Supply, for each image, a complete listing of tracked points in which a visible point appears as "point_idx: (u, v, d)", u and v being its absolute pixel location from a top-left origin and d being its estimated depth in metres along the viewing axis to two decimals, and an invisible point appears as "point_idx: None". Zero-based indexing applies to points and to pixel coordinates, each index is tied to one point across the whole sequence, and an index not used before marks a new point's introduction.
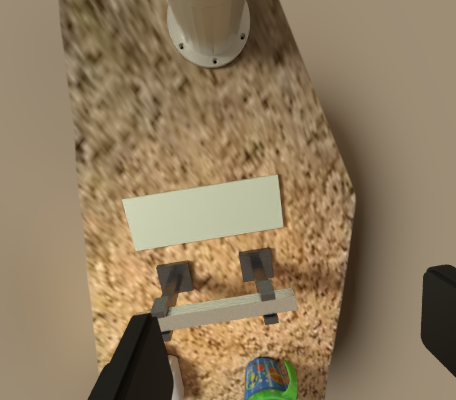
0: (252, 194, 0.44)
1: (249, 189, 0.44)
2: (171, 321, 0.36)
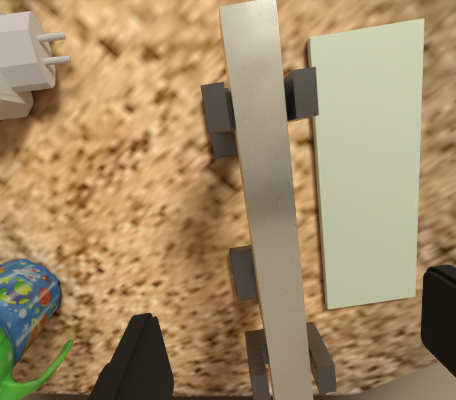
0: (391, 261, 0.27)
1: (399, 256, 0.27)
2: (268, 136, 0.12)
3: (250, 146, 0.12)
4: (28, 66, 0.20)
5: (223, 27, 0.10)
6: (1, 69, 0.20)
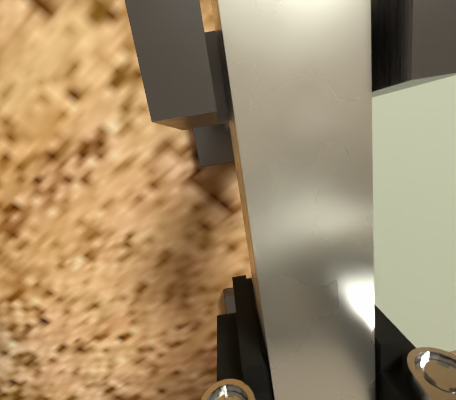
0: (441, 304, 0.20)
1: (452, 298, 0.20)
2: (320, 132, 0.04)
3: (270, 158, 0.04)
4: None
5: None
6: None
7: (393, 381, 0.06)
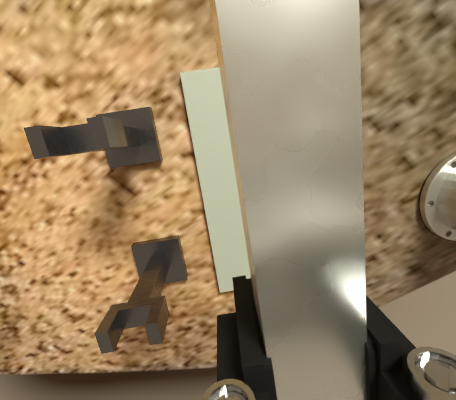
0: None
1: None
2: (311, 118, 0.05)
3: (264, 144, 0.05)
4: None
5: None
6: None
7: (393, 381, 0.06)
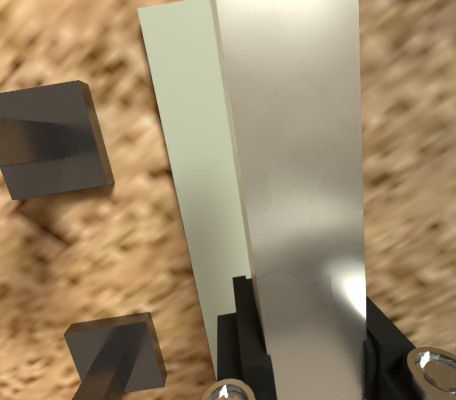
0: None
1: None
2: (313, 137, 0.05)
3: (267, 162, 0.05)
4: None
5: None
6: None
7: (393, 381, 0.06)
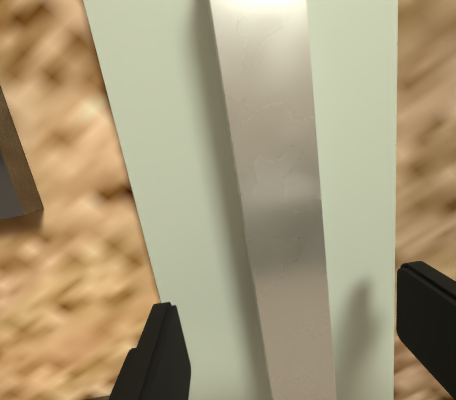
0: None
1: None
2: (284, 139, 0.07)
3: (253, 156, 0.07)
4: None
5: None
6: None
7: None
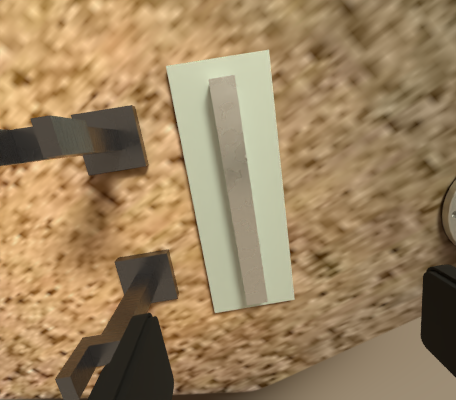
0: (267, 267, 0.29)
1: (275, 263, 0.29)
2: (234, 139, 0.24)
3: (225, 144, 0.24)
4: None
5: (210, 88, 0.22)
6: None
7: None
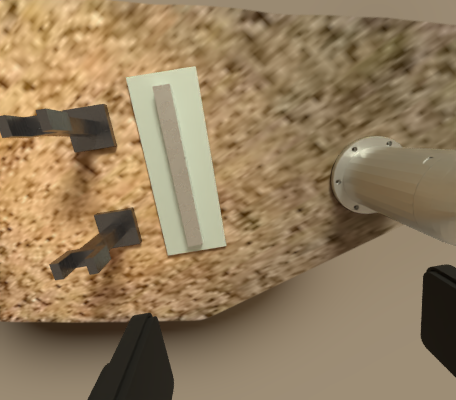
0: (204, 221, 0.41)
1: (210, 218, 0.40)
2: (171, 126, 0.35)
3: (165, 130, 0.35)
4: None
5: None
6: None
7: None
